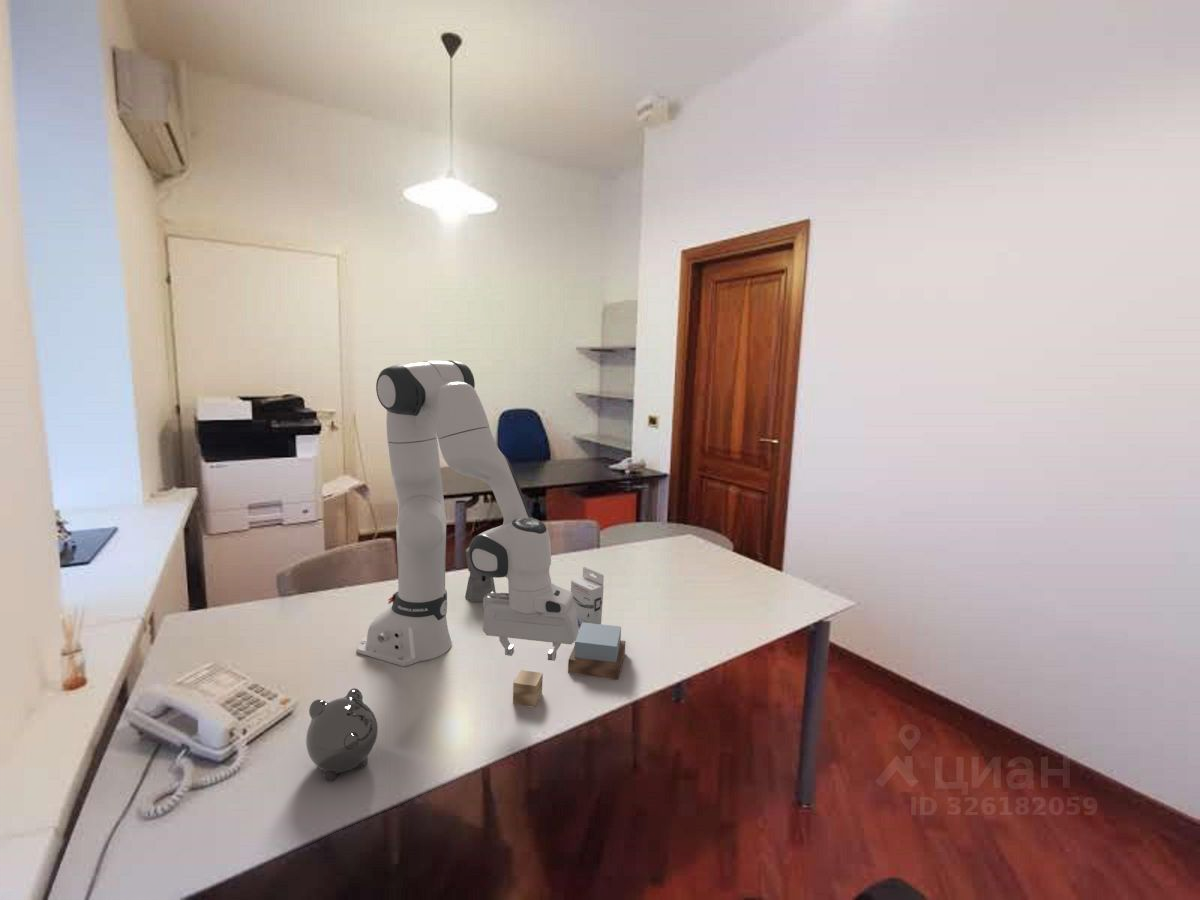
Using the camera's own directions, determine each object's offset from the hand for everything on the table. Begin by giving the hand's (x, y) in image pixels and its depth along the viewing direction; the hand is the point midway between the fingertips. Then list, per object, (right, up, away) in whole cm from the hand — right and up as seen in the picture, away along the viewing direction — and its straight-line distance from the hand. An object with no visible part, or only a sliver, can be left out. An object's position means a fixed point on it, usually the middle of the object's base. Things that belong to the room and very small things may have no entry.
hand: (530, 656), depth 115 cm
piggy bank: (-31, -12, -19) cm, 38 cm away
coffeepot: (-22, -1, +51) cm, 55 cm away
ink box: (+11, -5, +38) cm, 40 cm away
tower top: (+14, -5, +17) cm, 23 cm away
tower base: (+14, -9, +18) cm, 24 cm away
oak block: (-1, -10, +2) cm, 10 cm away
